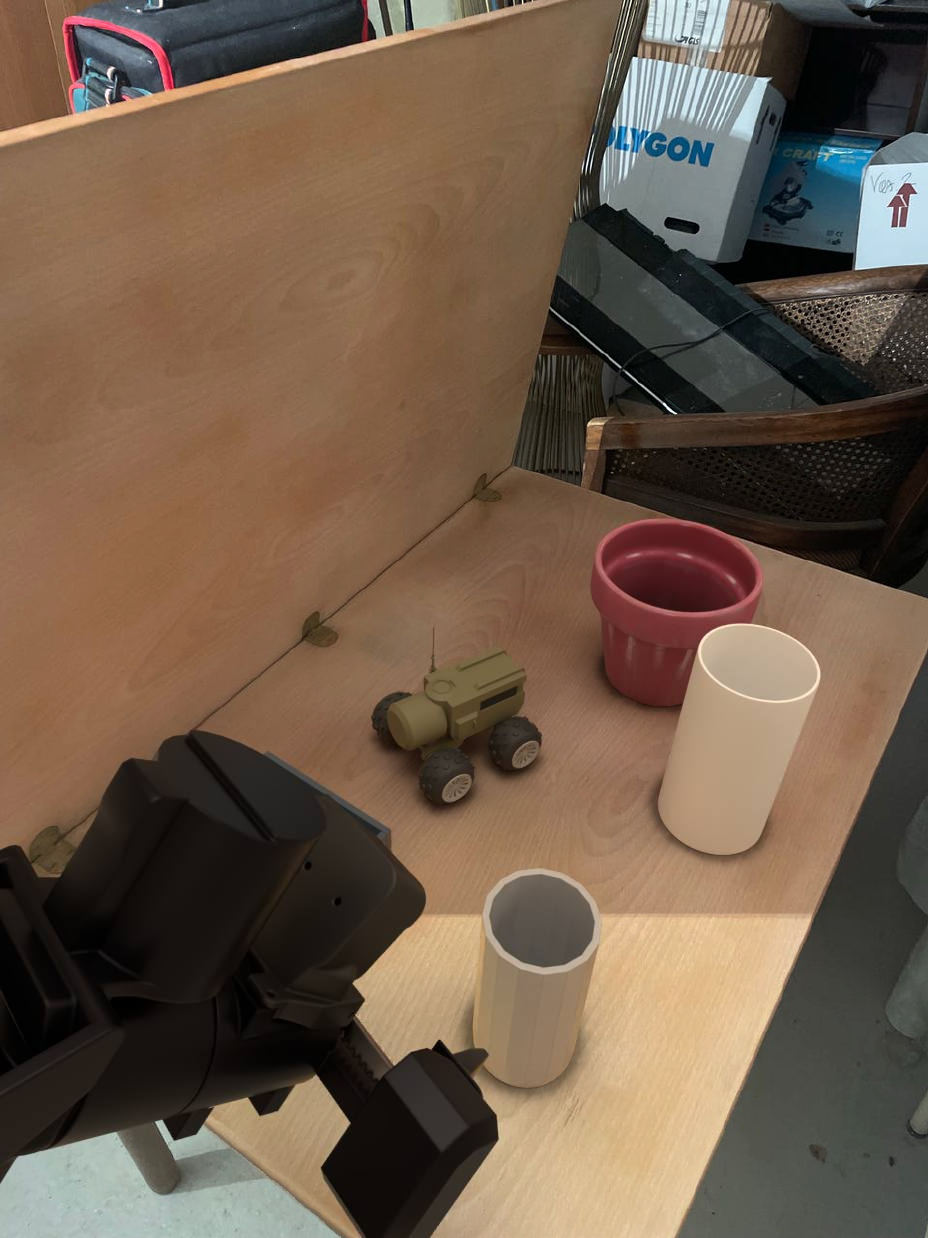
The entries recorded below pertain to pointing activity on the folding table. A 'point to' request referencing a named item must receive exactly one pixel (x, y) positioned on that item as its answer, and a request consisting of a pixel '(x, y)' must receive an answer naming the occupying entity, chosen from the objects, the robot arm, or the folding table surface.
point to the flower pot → (667, 601)
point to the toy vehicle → (461, 720)
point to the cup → (735, 736)
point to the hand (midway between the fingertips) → (419, 986)
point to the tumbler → (533, 974)
